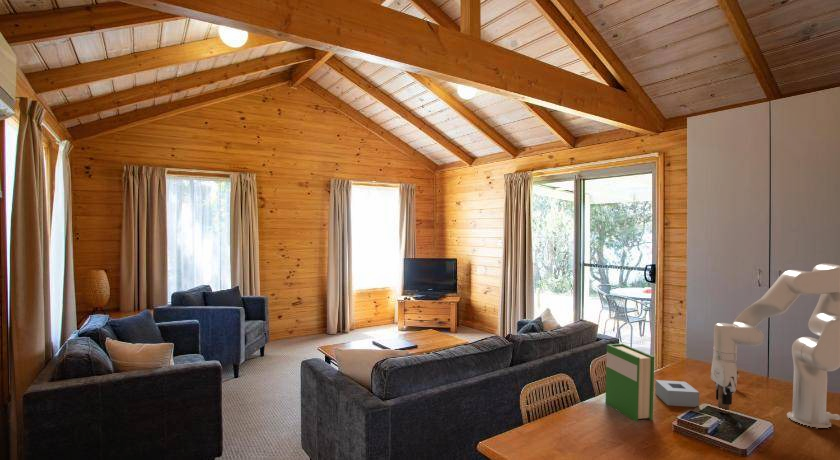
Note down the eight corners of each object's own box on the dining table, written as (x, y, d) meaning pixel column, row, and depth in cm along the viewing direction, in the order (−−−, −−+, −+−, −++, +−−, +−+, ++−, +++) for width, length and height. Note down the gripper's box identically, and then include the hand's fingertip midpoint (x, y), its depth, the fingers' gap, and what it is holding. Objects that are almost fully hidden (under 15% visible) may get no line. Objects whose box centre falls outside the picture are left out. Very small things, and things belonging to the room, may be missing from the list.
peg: (725, 410, 176) (726, 380, 176) (731, 414, 173) (731, 383, 173) (716, 410, 177) (716, 380, 177) (721, 414, 173) (721, 383, 173)
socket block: (684, 395, 192) (685, 381, 191) (698, 407, 180) (699, 392, 180) (655, 393, 193) (655, 380, 193) (667, 405, 181) (667, 390, 181)
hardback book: (652, 420, 167) (654, 356, 167) (635, 421, 166) (637, 357, 165) (621, 401, 184) (622, 343, 184) (605, 402, 183) (606, 344, 182)
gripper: (703, 349, 183) (702, 393, 183) (726, 361, 167) (725, 410, 167) (723, 349, 182) (722, 394, 183) (748, 362, 166) (747, 411, 166)
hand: (723, 401), depth 175 cm, fingers closed on peg, 3 cm apart
